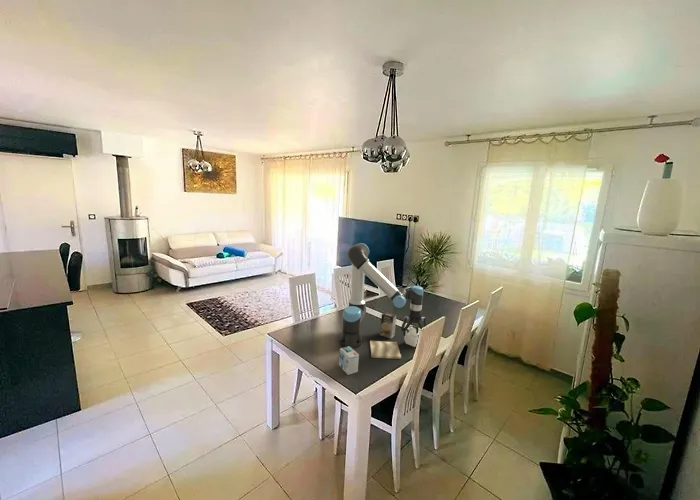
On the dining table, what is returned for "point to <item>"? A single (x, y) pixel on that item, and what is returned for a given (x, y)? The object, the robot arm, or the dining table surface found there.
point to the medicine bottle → (412, 336)
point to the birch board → (384, 349)
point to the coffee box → (388, 324)
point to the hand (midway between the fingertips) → (412, 340)
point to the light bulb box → (348, 360)
